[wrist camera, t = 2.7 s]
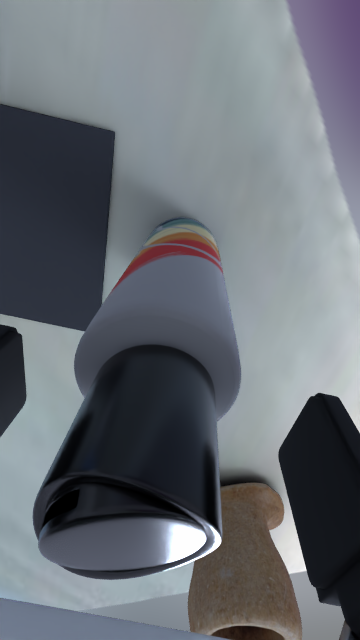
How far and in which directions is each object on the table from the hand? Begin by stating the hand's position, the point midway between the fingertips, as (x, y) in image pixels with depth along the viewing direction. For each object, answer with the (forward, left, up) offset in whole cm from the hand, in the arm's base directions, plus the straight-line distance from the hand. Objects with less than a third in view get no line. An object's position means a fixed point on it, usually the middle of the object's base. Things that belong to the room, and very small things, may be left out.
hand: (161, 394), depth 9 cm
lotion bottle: (0, 0, -16) cm, 16 cm away
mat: (+1, -13, -15) cm, 20 cm away
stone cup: (+31, +12, -16) cm, 36 cm away
